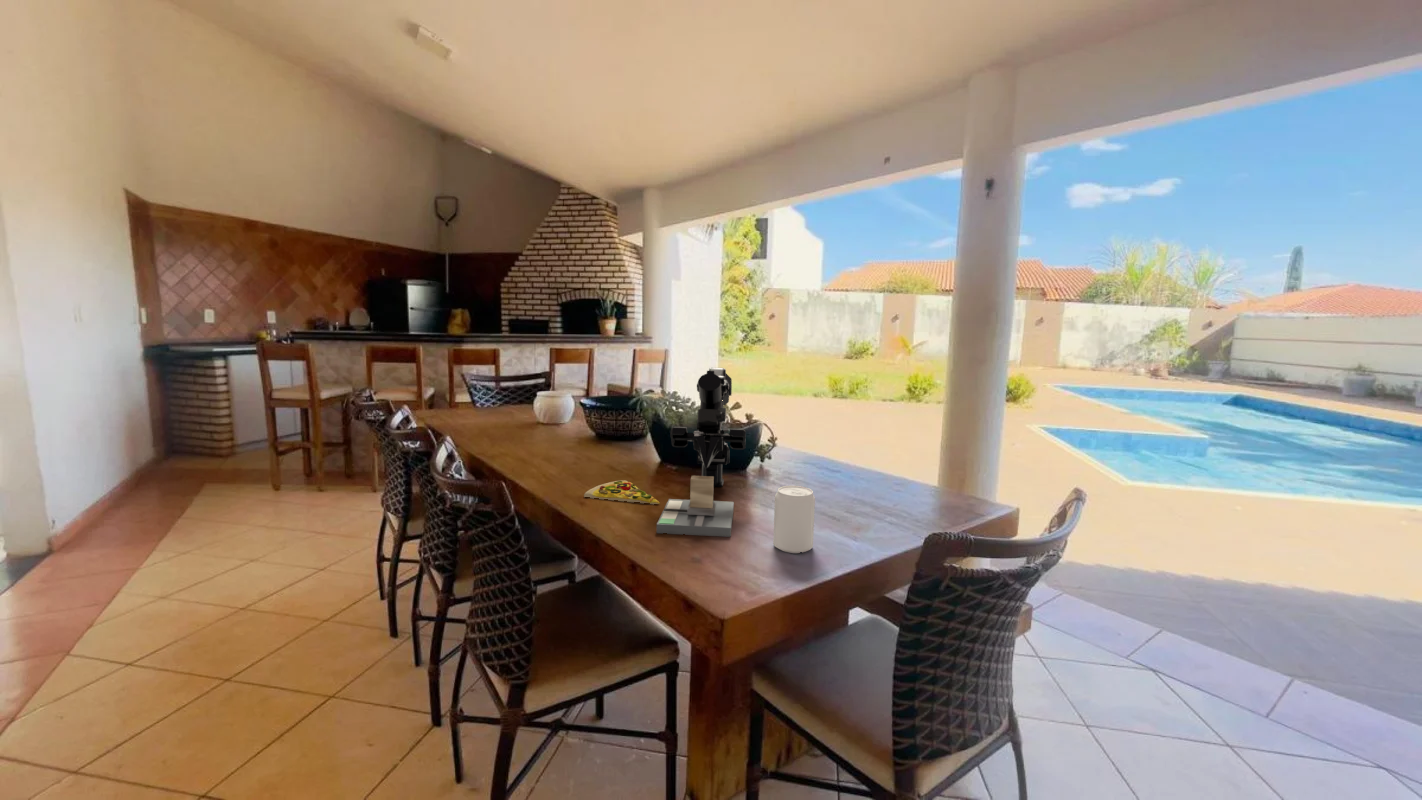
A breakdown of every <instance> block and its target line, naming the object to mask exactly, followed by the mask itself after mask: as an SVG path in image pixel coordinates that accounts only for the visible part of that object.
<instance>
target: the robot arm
mask: <svg viewBox="0 0 1422 800" xmlns="http://www.w3.org/2000/svg"><path fill="white" fill-rule="evenodd" d="M726 372H727V370H726V368H724V367H711V368H710V367H709V369H708V370H706V373H705V374H702V375H701V376H700V377H699V378H698V381H697V383H696V391H697V393H698V396H699V397H698V398H699V400H700V406H699V409H697V420H696V430H694V431H693V432H689V431H688V427H687V426H673V427H672V428H671V429H670V431H669V433H670V434H669V435H670V440H671V446H672V447H673V448H687V446H688V443H689V442H692V444H693V450H694V451H696V464H697V465H699V464H701V476H713V477H714V487H717V488H718V487H722V488H723V485H724V481H725V479H724V478H723V465H727V464H730V448H731V449H732V450H742V451H743V450H745V449H746V437H747V436H746V434H747V433H746V430H745V429H744V428H729V433H725V431H724V429H722V425H723V423H726V417H727V416H726V415H727V414H726V413H727V412H726V411H727V408H726V407H724V406H726V405H727V404H728V403H729V402H730V396H732V394H733V389H732V388H733V387H732V386H733V385H732V384H733V383H732V382H733V381H732V380H733V379H732V378H731V377H730V375H728V374H727V373H726ZM722 400H723V401H722ZM723 405H724V406H723ZM728 443H729V444H728ZM728 445H729V446H728Z"/></svg>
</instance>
